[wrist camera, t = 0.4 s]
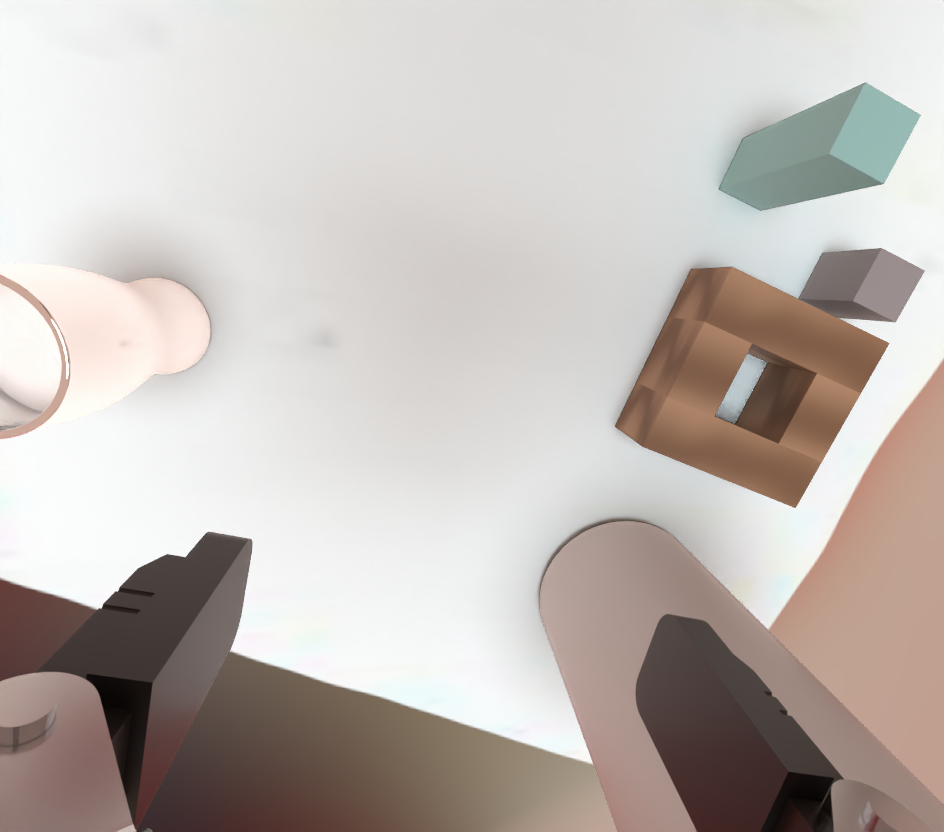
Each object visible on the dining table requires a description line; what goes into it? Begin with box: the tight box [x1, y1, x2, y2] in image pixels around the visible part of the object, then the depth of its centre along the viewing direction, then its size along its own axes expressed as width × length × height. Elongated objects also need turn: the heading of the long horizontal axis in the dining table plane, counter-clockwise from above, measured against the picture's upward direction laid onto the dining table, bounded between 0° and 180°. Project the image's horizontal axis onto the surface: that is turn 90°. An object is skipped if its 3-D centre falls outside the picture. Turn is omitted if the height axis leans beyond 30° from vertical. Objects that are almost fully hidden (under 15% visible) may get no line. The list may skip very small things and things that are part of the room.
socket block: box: [615, 267, 889, 508], centre depth 37 cm, size 12×12×5 cm
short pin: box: [799, 248, 924, 322], centre depth 36 cm, size 3×3×5 cm
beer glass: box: [0, 264, 211, 439], centre depth 27 cm, size 7×7×15 cm
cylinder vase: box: [539, 521, 944, 832], centre depth 30 cm, size 12×12×25 cm
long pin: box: [719, 82, 921, 211], centre depth 31 cm, size 3×3×10 cm
